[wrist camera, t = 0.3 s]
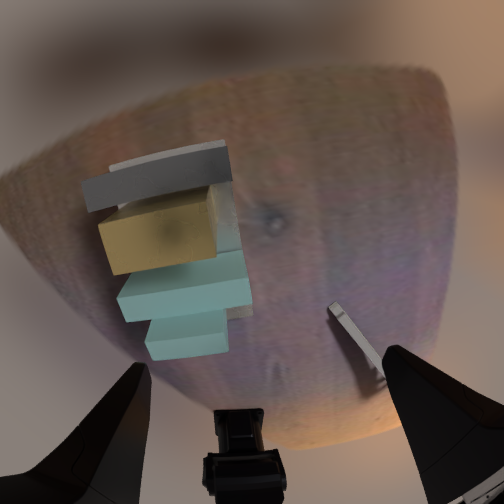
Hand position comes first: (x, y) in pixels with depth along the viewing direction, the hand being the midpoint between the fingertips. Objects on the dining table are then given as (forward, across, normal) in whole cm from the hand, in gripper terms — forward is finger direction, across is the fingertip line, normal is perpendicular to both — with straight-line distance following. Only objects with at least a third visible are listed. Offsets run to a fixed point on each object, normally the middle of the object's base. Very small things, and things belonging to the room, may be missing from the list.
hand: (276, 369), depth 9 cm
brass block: (+14, +5, -2) cm, 15 cm away
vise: (+15, +5, +1) cm, 16 cm away
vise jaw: (+13, +4, +4) cm, 15 cm away
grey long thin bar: (+15, -16, +16) cm, 27 cm away
